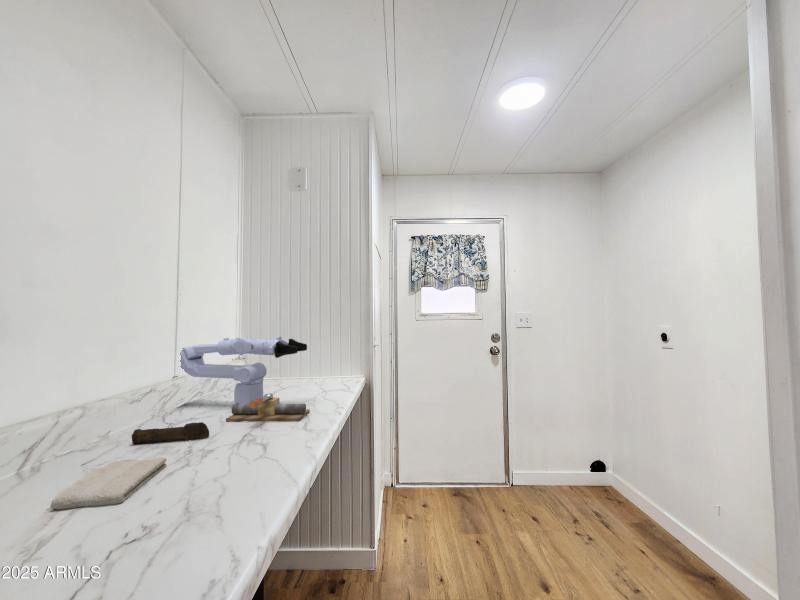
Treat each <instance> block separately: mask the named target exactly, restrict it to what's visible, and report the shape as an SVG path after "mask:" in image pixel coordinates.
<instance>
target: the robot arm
mask: <svg viewBox="0 0 800 600" xmlns="http://www.w3.org/2000/svg"><path fill="white" fill-rule="evenodd" d="M181 348H182V349H183V350H181V352H180V355H181V360H180V362H181V366H180V367H181V368H182V369H184V371H185V372H184V371H183V372H184V373H186V374H188V375H189V376H191V377H193V378H209V379H210V378H213V379H232V380H234V381H238V383H237V384H236V385H235V387H234V391H233V394H234V397H233V402H234V403H233V405H234V404H249V402H250V401H252V400H254V399H256V398H262V397H263V396H264V378H265V377H266V375H267V367H266V366H265V364H264V363H262V362H255V363H253V364H244V365H243V364H242V365H237V364H236V365H235V364H233V365H232V364H214V363H213V364H212V363H211V364H209V363H207V364H206V363H205V360H204V355H205V354H212V353H218V354H219V355H220V356H232V355H239V356H243V355H246V354H249V355H250V354H251V355H259V356H260V355H262V356H274V357H275V359H279V358H281V357H283V356H287V355H288V356H289V355H295V354H298V352H303V351H308V344H307V343H303V342H299V341H297V340H296V339H294V338H289V339H288V341H286V340H284V339H283V337H282V336H277V338H276V339H271V338H270V339H269V338H267V339H266V338H256V339H255V338H252V337H244V338H241V337H236V338H234V339H233V338H232V339H230V338H229V337H225V338H223V339H222V340H221V339H220V341H218V343H208V344H207V343H206V344H205V343H203V344H194V345H190V346H189V345H188V346H185V347H181Z"/></svg>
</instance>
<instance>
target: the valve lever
mask: <svg viewBox="0 0 800 600" xmlns="http://www.w3.org/2000/svg"><path fill="white" fill-rule="evenodd" d="M268 398H274V394H273V393H265V394H264V395H263V397H262V398H256V399H254V400H252V401H250V402H249V408H256V407H257V406H259V405H261V404H263V401H265V400H267V399H268Z"/></svg>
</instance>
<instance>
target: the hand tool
mask: <svg viewBox="0 0 800 600" xmlns="http://www.w3.org/2000/svg"><path fill="white" fill-rule="evenodd" d="M209 437H210V429H209V428H208V426H207V424H205V423H204V422H202V421H201V422H191V423H186V424H184V426H177V427H175V426H174V427H165V428H164V427H163V428H147V429H140V428H137V429H134V431H133V433H132V435H131V442H132V445H137V444H139V445H141V444H142V443H151V442H161V441H163V442H164V441H173V440H184V441H186V442H189V440H191V441H197V439H198V440H203V439H207V438H209Z"/></svg>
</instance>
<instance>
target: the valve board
mask: <svg viewBox="0 0 800 600" xmlns="http://www.w3.org/2000/svg"><path fill="white" fill-rule="evenodd" d="M310 410H311V409H307V404H306V403H280V397H279V396H278V397H273V398H268V399H267V400H265V401H263V404H261V405H259V406H257V407H256V408H249V404H234V403H233V405H232V407H231V415H230V416H228V417H226V418H225V422H226V423H239V422H240V421H277V422H300V421H302V420H303V419H304V418H305V417H306V416H307V415H308V414H310V413H309V412H310ZM304 416H305V417H304ZM303 417H304V418H303ZM302 418H303V419H302ZM240 423H241V422H240Z"/></svg>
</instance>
